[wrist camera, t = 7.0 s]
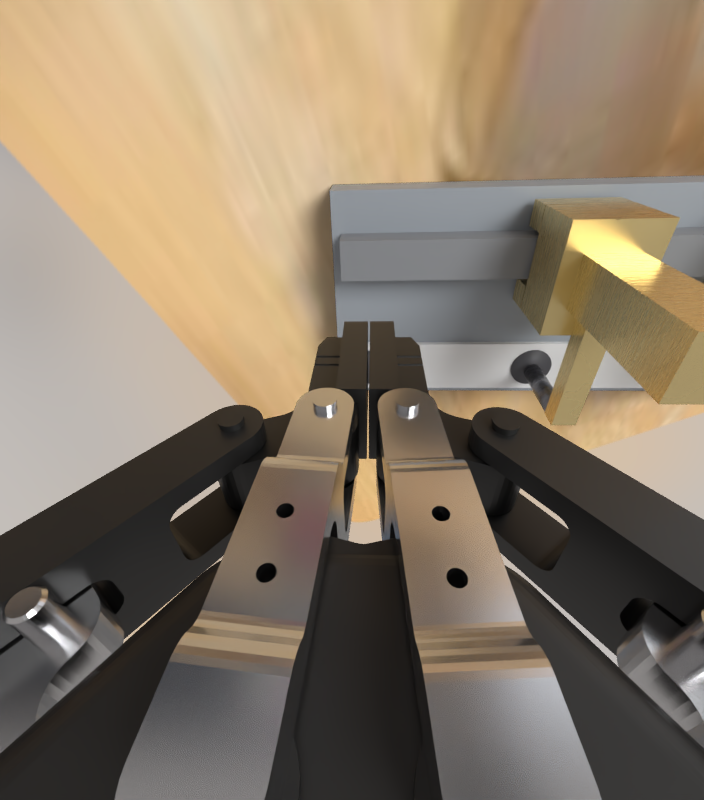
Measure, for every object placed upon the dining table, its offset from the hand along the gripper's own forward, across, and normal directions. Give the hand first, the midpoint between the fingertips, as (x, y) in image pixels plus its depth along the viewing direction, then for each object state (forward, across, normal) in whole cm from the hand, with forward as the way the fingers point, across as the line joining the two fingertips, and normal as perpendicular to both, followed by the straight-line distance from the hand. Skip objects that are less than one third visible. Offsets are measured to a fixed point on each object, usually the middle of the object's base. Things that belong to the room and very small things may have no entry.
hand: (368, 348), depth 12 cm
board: (+13, -11, +3) cm, 17 cm away
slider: (+10, -10, +3) cm, 15 cm away
